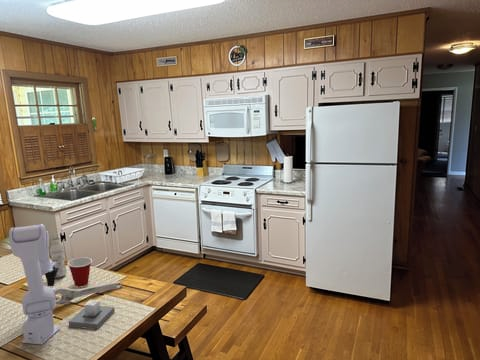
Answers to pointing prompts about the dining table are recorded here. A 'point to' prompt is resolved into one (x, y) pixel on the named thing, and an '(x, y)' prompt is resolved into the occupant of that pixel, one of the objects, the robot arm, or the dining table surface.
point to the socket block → (95, 322)
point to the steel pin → (92, 308)
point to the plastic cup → (80, 270)
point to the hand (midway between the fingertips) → (45, 290)
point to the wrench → (82, 291)
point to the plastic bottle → (58, 257)
